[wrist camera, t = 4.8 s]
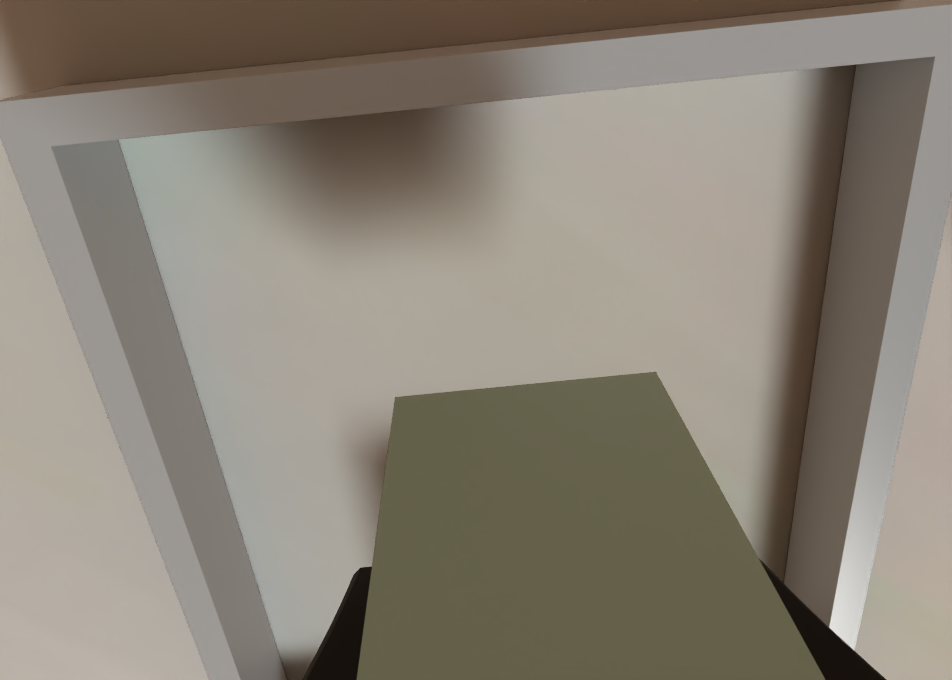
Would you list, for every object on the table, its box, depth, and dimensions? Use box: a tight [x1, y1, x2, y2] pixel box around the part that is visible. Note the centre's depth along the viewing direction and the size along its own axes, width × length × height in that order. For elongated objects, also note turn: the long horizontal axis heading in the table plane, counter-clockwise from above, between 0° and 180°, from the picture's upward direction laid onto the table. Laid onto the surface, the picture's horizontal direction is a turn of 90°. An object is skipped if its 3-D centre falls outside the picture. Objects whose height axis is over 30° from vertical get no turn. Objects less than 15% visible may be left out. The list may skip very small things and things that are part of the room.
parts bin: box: [0, 0, 952, 680], centre depth 17 cm, size 17×20×2 cm
